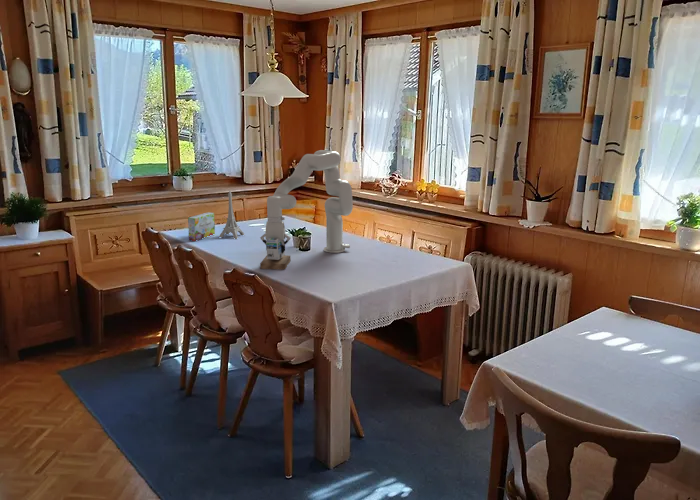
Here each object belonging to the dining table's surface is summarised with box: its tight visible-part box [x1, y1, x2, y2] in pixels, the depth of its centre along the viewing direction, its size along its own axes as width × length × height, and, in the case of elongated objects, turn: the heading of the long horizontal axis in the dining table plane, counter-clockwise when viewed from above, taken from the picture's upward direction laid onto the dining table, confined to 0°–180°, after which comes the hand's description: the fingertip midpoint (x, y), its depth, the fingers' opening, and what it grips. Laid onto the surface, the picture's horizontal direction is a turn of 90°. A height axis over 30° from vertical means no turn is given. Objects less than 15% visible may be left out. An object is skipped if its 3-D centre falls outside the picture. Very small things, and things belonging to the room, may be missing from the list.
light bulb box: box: [265, 238, 286, 260], centre depth 296 cm, size 11×7×11 cm, turn 169°
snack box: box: [187, 211, 216, 242], centre depth 356 cm, size 21×6×15 cm, turn 159°
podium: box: [259, 254, 291, 270], centre depth 298 cm, size 13×17×3 cm
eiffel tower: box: [218, 190, 245, 240], centre depth 359 cm, size 13×13×30 cm
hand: (275, 251), depth 297 cm, fingers closed on light bulb box, 7 cm apart
